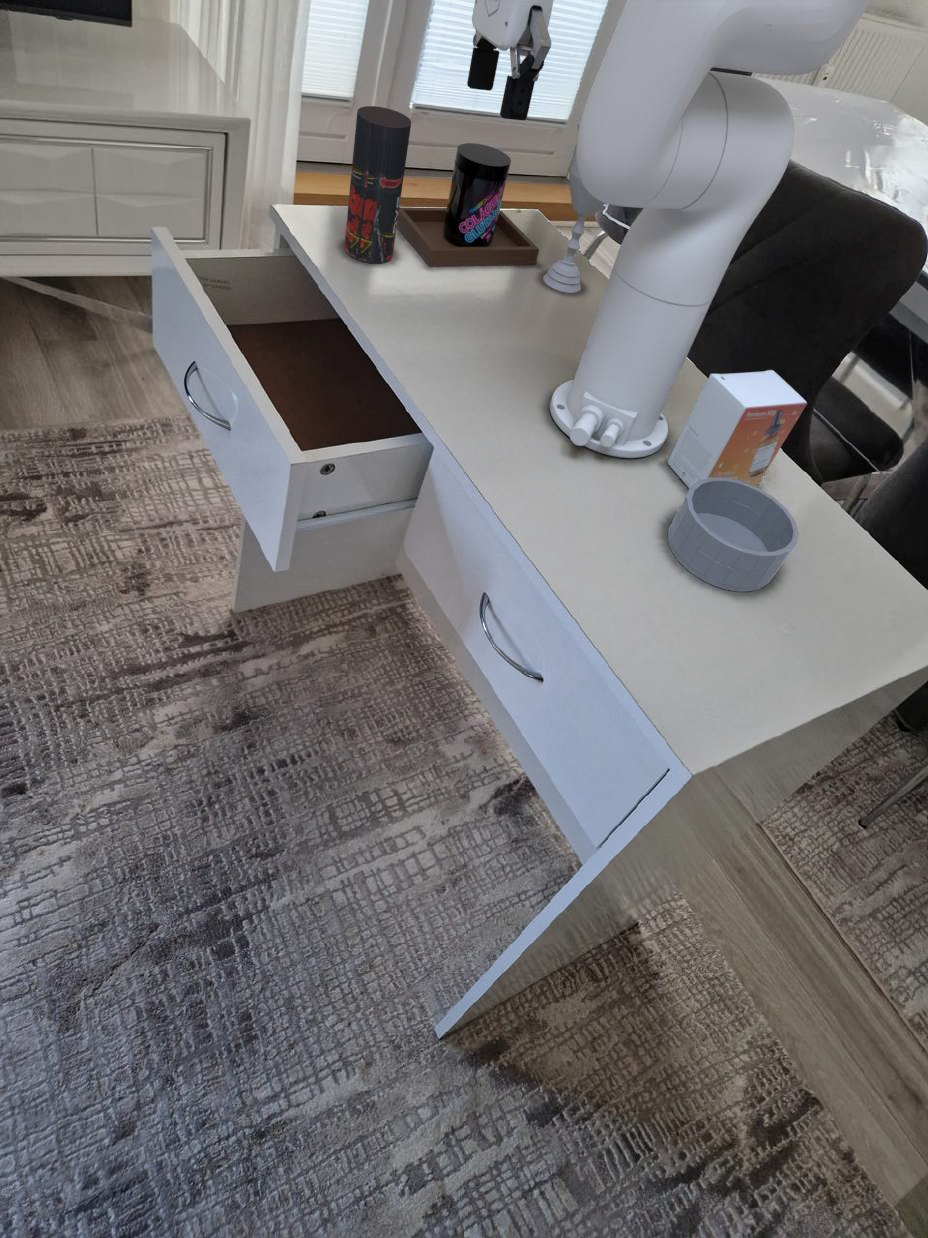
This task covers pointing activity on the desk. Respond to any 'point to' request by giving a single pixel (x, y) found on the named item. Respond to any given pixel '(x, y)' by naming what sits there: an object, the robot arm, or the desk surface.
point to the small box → (736, 427)
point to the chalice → (573, 233)
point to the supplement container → (475, 195)
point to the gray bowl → (732, 534)
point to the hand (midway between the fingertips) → (495, 102)
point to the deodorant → (376, 183)
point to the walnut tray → (438, 252)
